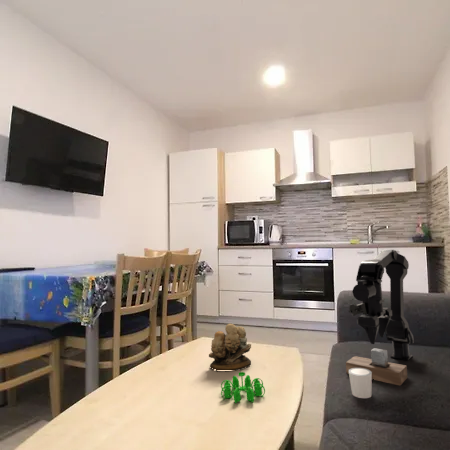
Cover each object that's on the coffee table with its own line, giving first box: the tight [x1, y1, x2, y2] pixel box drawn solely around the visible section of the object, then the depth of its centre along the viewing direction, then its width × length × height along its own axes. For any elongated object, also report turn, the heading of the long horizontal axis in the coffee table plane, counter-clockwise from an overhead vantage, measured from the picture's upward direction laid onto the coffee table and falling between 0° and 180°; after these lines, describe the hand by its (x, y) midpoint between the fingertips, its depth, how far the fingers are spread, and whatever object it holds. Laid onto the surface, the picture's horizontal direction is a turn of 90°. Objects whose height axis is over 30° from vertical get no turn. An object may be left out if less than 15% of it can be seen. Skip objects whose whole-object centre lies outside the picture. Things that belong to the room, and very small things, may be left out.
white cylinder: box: [348, 368, 373, 399], centre depth 107 cm, size 7×7×7 cm
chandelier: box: [220, 371, 266, 404], centre depth 112 cm, size 15×15×7 cm
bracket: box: [370, 347, 389, 369], centre depth 120 cm, size 3×4×9 cm, turn 46°
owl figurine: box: [208, 323, 252, 371], centre depth 139 cm, size 18×12×17 cm, turn 108°
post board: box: [345, 355, 408, 386], centre depth 121 cm, size 8×18×4 cm, turn 47°
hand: (377, 340), depth 122 cm, fingers open, 9 cm apart
